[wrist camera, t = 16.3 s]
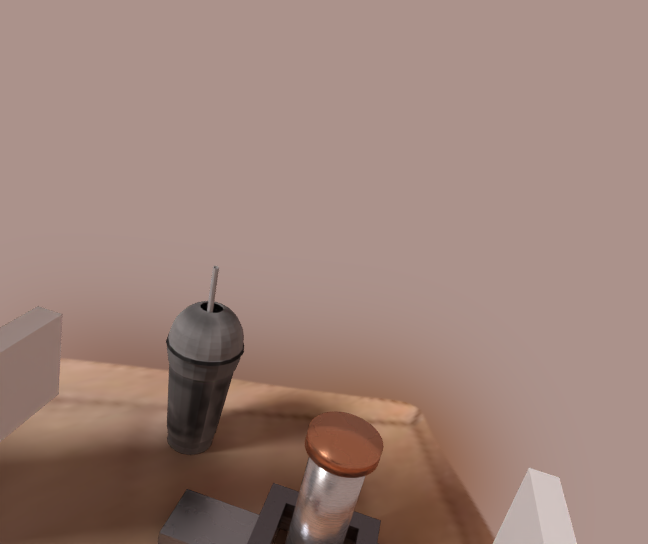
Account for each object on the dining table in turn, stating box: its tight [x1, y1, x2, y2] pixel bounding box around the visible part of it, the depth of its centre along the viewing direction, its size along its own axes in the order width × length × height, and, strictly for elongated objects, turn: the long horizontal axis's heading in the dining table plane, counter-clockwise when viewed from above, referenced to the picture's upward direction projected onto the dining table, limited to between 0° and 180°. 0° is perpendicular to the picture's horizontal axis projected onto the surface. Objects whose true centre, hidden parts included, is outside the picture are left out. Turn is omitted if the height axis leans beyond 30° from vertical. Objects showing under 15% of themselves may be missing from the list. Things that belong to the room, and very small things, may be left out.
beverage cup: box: [166, 266, 244, 455], centre depth 52 cm, size 7×7×20 cm
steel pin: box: [285, 412, 383, 544], centre depth 43 cm, size 6×6×14 cm
